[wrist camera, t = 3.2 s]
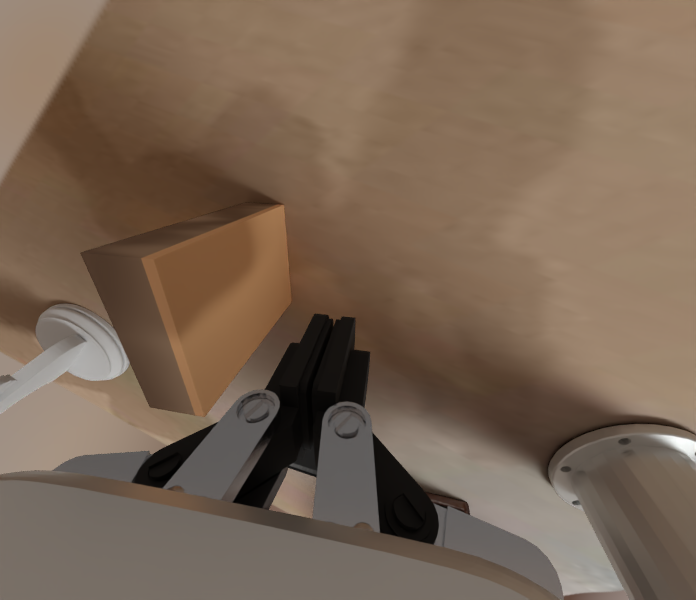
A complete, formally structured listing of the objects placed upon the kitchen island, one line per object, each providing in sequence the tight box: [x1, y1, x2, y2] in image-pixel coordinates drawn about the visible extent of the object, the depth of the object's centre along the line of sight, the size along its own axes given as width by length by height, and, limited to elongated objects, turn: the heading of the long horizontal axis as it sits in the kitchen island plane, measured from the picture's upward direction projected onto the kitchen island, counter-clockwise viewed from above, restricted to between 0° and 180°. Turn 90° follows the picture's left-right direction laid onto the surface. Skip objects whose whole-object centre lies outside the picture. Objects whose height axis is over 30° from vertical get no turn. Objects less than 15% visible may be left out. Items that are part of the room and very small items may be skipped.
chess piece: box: [0, 303, 130, 414], centre depth 25 cm, size 10×10×15 cm
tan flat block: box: [81, 203, 292, 417], centre depth 17 cm, size 3×8×12 cm, turn 179°
